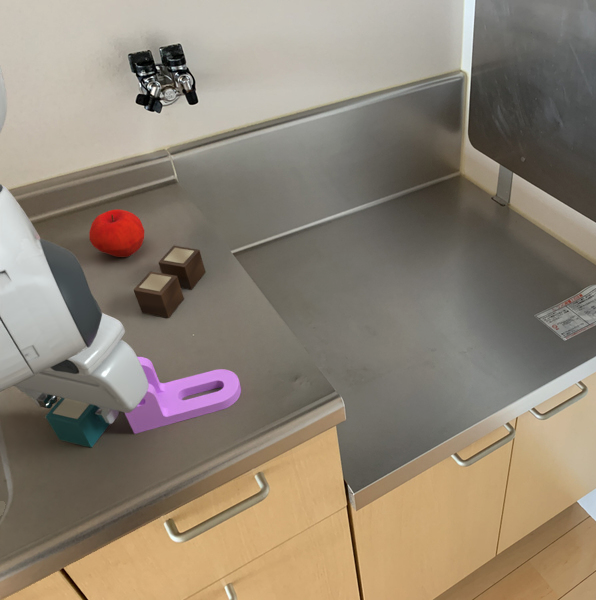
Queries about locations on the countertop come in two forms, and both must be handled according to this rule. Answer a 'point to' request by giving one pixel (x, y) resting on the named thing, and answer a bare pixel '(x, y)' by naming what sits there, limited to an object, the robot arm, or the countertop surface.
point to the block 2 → (159, 294)
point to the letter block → (76, 422)
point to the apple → (117, 233)
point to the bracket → (168, 397)
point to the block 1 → (183, 265)
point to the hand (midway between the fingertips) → (78, 410)
